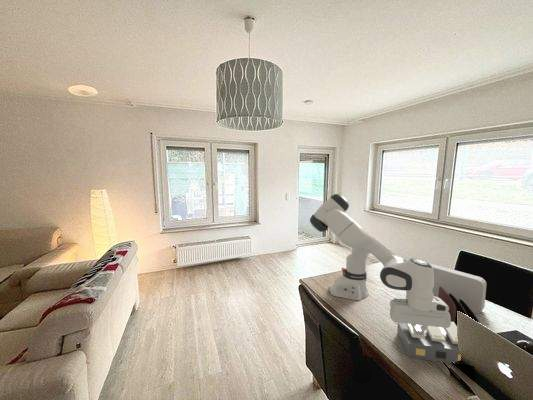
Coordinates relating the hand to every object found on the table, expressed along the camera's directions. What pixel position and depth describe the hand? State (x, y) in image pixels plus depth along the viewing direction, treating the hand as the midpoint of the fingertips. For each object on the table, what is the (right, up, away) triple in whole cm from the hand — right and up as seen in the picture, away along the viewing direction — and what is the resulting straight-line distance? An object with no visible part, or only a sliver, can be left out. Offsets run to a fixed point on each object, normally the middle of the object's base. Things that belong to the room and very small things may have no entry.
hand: (418, 333), depth 87 cm
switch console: (+8, -9, +4) cm, 12 cm away
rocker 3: (+15, 0, +1) cm, 15 cm away
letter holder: (+31, -6, +19) cm, 37 cm away
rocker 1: (+1, 0, +4) cm, 4 cm away
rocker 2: (+8, 0, +3) cm, 8 cm away
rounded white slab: (+42, -4, +36) cm, 56 cm away
